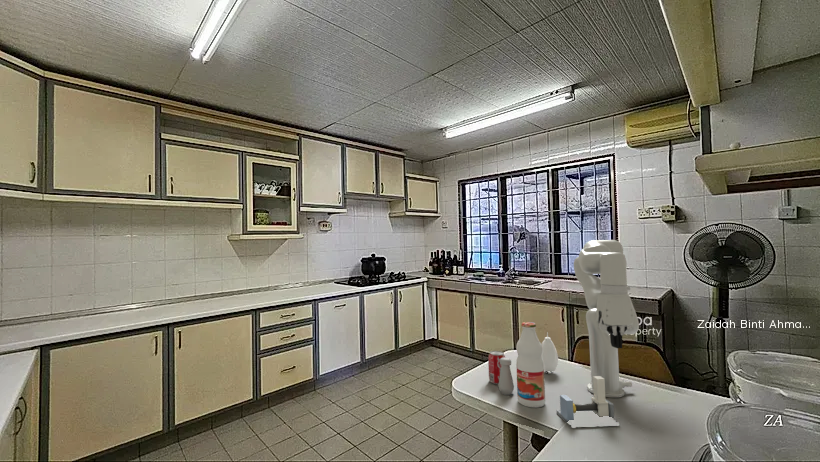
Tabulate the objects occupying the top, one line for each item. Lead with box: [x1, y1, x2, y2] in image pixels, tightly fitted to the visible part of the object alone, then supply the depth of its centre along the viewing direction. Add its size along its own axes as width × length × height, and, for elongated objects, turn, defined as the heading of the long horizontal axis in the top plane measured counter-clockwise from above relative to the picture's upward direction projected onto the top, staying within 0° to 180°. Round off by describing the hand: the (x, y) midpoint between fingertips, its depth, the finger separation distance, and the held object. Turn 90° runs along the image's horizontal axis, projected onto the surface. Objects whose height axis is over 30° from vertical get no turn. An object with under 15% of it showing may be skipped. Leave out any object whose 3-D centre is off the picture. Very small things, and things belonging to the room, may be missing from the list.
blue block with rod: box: [556, 394, 615, 424], centre depth 112 cm, size 15×10×7 cm, turn 93°
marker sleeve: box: [591, 376, 609, 417], centre depth 112 cm, size 3×4×11 cm
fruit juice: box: [515, 321, 546, 409], centre depth 126 cm, size 9×9×28 cm
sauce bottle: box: [541, 331, 559, 372], centre depth 156 cm, size 8×8×18 cm
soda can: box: [487, 350, 506, 386], centre depth 145 cm, size 7×7×12 cm
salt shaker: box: [497, 356, 515, 396], centre depth 134 cm, size 6×6×13 cm
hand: (616, 347), depth 113 cm, fingers closed
